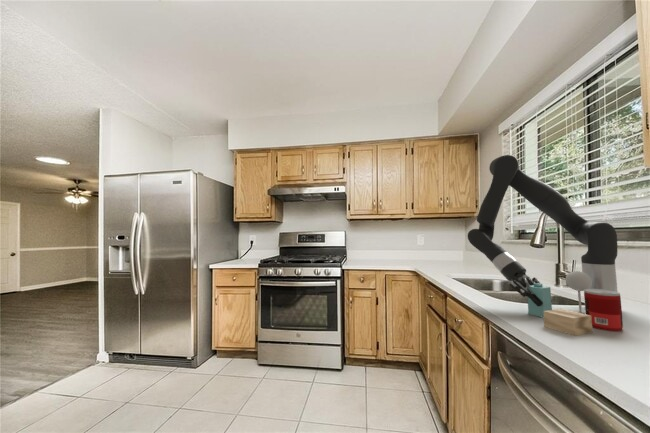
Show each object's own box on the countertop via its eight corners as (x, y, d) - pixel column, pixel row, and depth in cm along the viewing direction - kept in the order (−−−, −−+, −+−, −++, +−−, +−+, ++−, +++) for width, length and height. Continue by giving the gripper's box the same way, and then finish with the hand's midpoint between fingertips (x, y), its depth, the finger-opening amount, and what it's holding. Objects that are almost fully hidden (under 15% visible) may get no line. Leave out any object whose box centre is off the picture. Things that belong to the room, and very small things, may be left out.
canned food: (631, 332, 79) (627, 294, 80) (598, 330, 81) (595, 293, 81) (609, 323, 87) (606, 289, 87) (580, 322, 88) (577, 288, 89)
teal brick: (536, 312, 100) (534, 282, 101) (552, 315, 96) (550, 284, 96) (528, 313, 98) (526, 283, 99) (544, 317, 94) (542, 285, 94)
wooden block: (561, 324, 87) (560, 308, 88) (592, 332, 80) (591, 315, 80) (544, 327, 85) (543, 311, 85) (574, 336, 77) (573, 318, 78)
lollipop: (575, 309, 103) (572, 269, 104) (599, 314, 97) (595, 271, 98) (563, 310, 101) (560, 270, 102) (586, 316, 94) (583, 273, 95)
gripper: (503, 261, 102) (542, 300, 90) (526, 259, 108) (565, 295, 96) (490, 273, 106) (525, 312, 95) (513, 271, 112) (548, 307, 101)
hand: (545, 304), depth 95 cm, fingers closed on teal brick, 5 cm apart
